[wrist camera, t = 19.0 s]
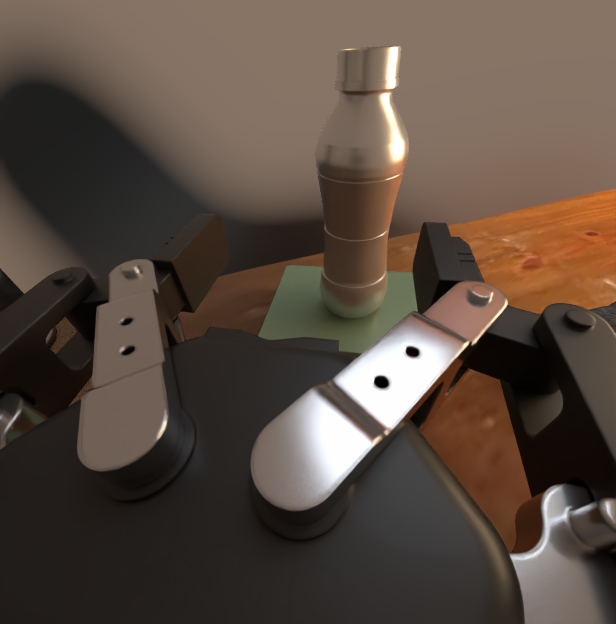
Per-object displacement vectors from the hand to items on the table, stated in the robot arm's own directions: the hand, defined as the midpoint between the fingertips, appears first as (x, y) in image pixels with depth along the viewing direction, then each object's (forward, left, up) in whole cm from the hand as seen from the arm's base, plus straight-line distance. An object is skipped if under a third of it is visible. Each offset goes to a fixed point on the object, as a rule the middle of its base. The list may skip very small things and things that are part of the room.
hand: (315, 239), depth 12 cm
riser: (+1, +13, -19) cm, 23 cm away
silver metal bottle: (+1, +12, -15) cm, 19 cm away
